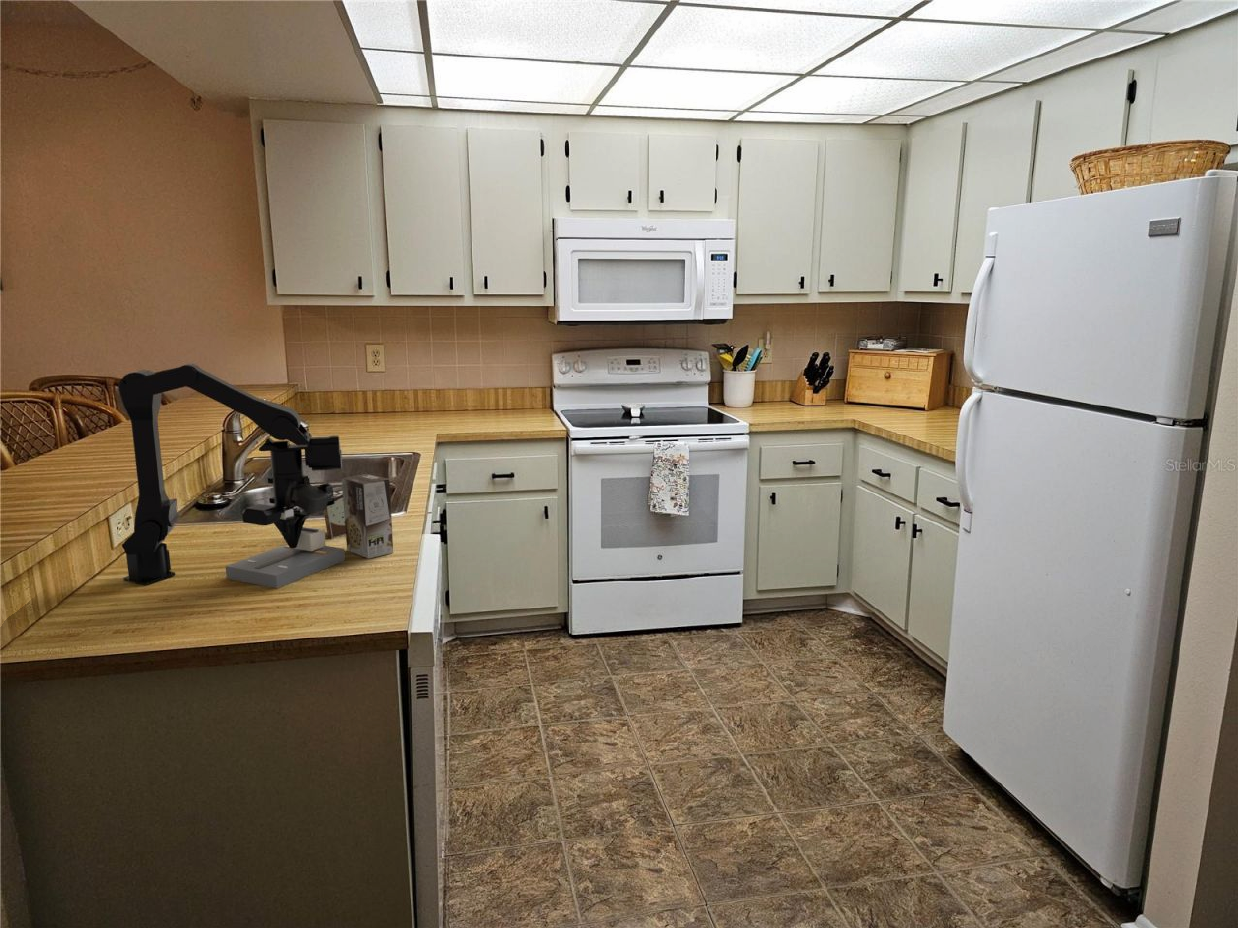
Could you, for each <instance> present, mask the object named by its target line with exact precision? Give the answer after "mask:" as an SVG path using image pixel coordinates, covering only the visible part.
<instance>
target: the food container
mask: <svg viewBox="0 0 1238 928" xmlns="http://www.w3.org/2000/svg"><path fill="white" fill-rule="evenodd" d="M333 495H334V504H333V505H330V506H327V507H326V510H324V511H323V517H324V522H325V528H326V533H327V534H326V535H327V537H328V538H329V539H332V540H333V539H335V538H337V539H338V538H341V537H344V536H346V529H345V516H344V503H343V489H342V486H337V487H333ZM343 535H344V536H343ZM340 536H341V537H340Z"/></svg>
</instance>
